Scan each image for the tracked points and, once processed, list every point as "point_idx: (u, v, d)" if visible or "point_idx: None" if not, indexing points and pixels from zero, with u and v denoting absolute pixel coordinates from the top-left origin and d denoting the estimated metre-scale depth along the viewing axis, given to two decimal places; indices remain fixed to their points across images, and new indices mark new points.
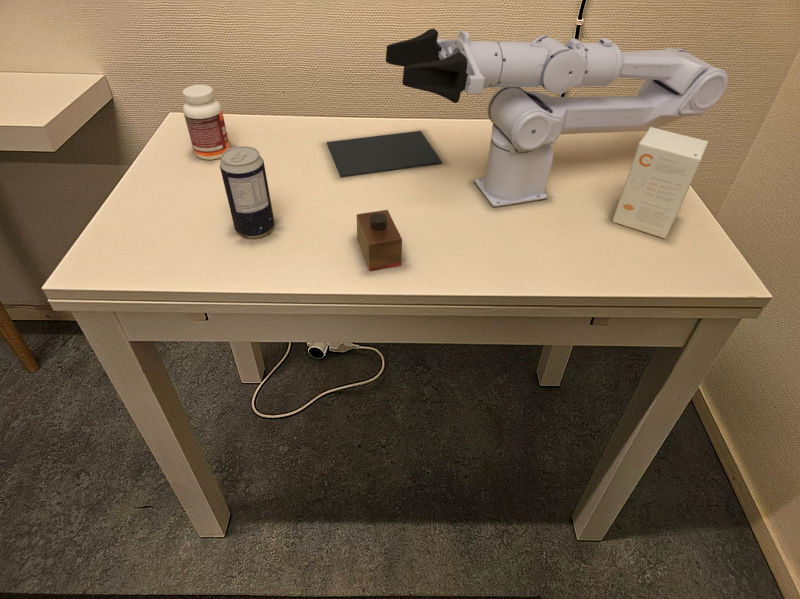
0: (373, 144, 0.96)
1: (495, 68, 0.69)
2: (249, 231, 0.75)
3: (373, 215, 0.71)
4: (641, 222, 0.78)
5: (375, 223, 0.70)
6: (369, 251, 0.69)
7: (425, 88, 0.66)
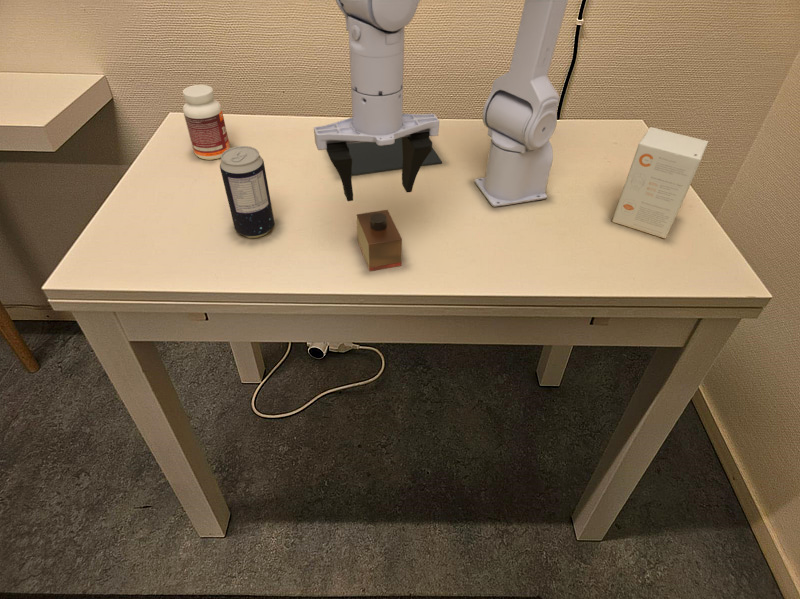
0: (373, 144, 0.96)
1: None
2: (249, 231, 0.75)
3: (373, 215, 0.71)
4: (641, 222, 0.78)
5: (375, 223, 0.70)
6: (369, 251, 0.69)
7: None
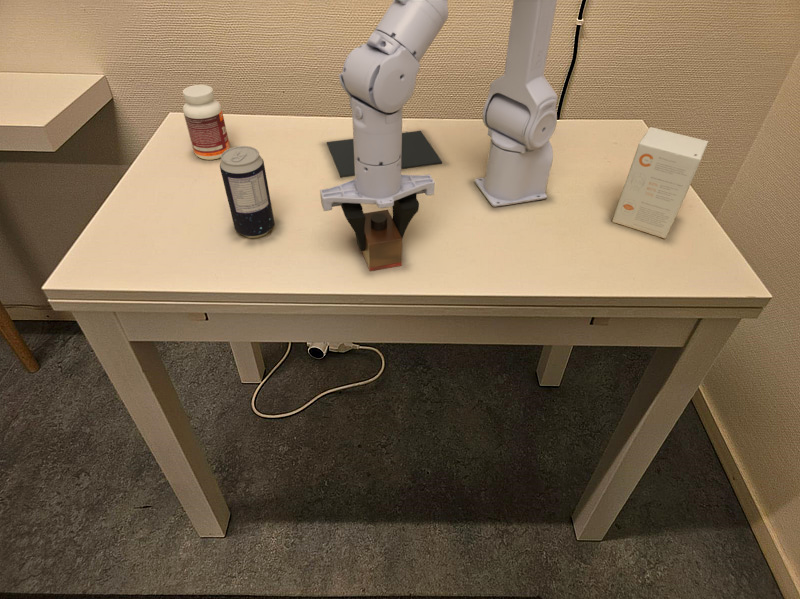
0: None
1: None
2: (249, 231, 0.75)
3: (373, 215, 0.71)
4: (641, 222, 0.78)
5: (375, 223, 0.70)
6: (369, 251, 0.69)
7: None
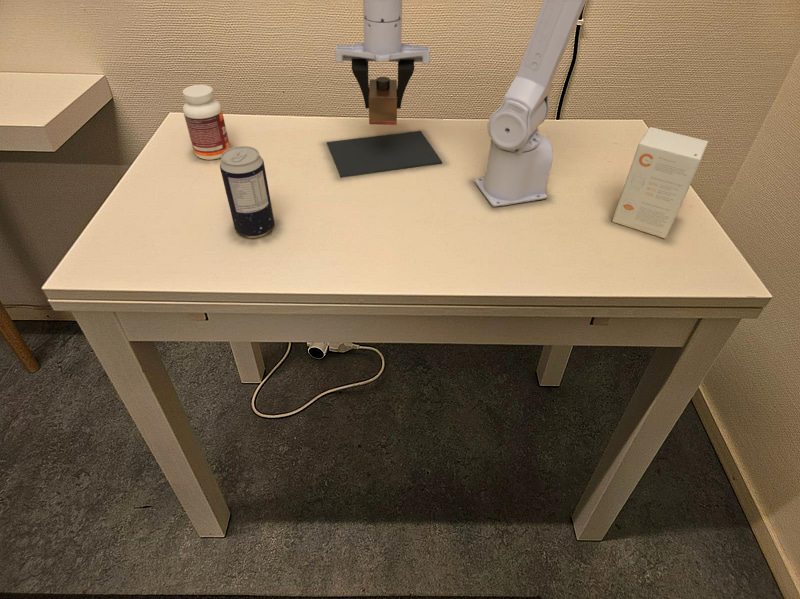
0: (373, 144, 0.96)
1: (401, 24, 0.79)
2: (249, 231, 0.75)
3: (379, 77, 0.86)
4: (641, 222, 0.78)
5: (379, 83, 0.85)
6: (369, 104, 0.84)
7: None
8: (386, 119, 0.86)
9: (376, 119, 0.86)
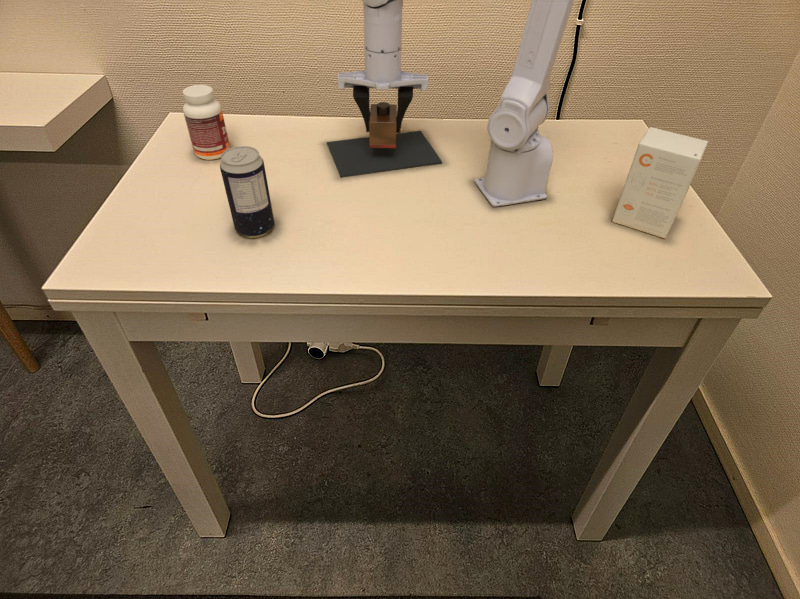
0: None
1: (400, 54, 0.82)
2: (249, 231, 0.75)
3: (380, 103, 0.89)
4: (641, 222, 0.78)
5: (379, 108, 0.88)
6: (369, 129, 0.88)
7: None
8: (386, 143, 0.90)
9: (376, 143, 0.90)
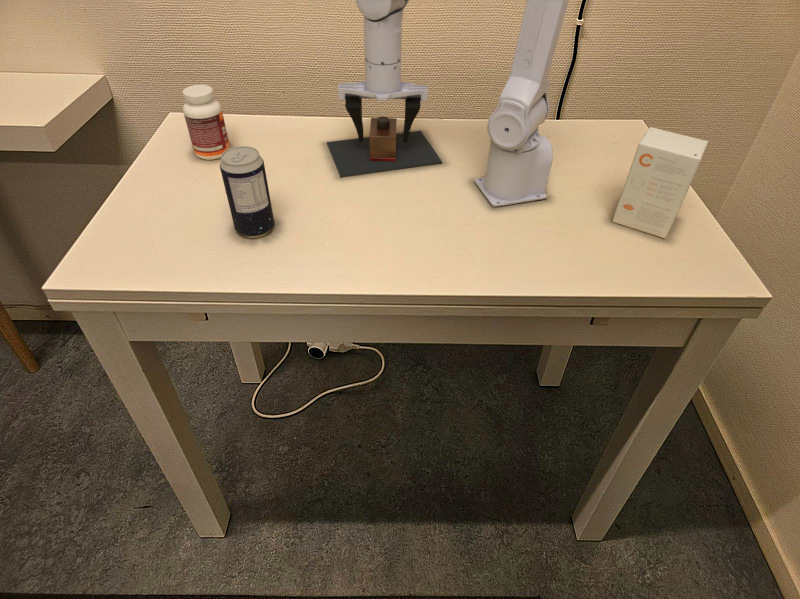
0: None
1: (400, 66, 0.84)
2: (249, 231, 0.75)
3: (380, 117, 0.91)
4: (641, 222, 0.78)
5: (379, 122, 0.90)
6: (370, 142, 0.90)
7: None
8: (386, 156, 0.91)
9: (376, 156, 0.91)
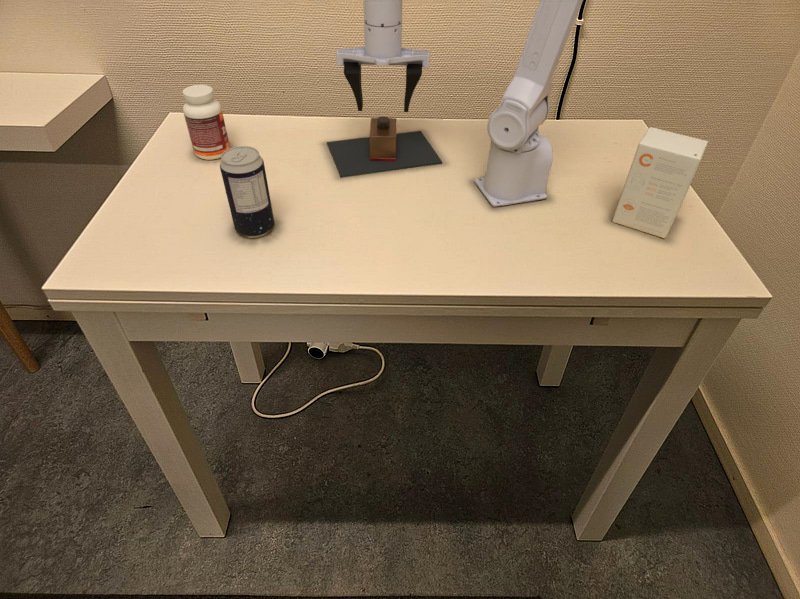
0: None
1: (401, 29, 0.80)
2: (249, 231, 0.75)
3: (380, 117, 0.91)
4: (641, 222, 0.78)
5: (379, 122, 0.90)
6: (370, 142, 0.90)
7: None
8: (386, 156, 0.91)
9: (376, 156, 0.91)
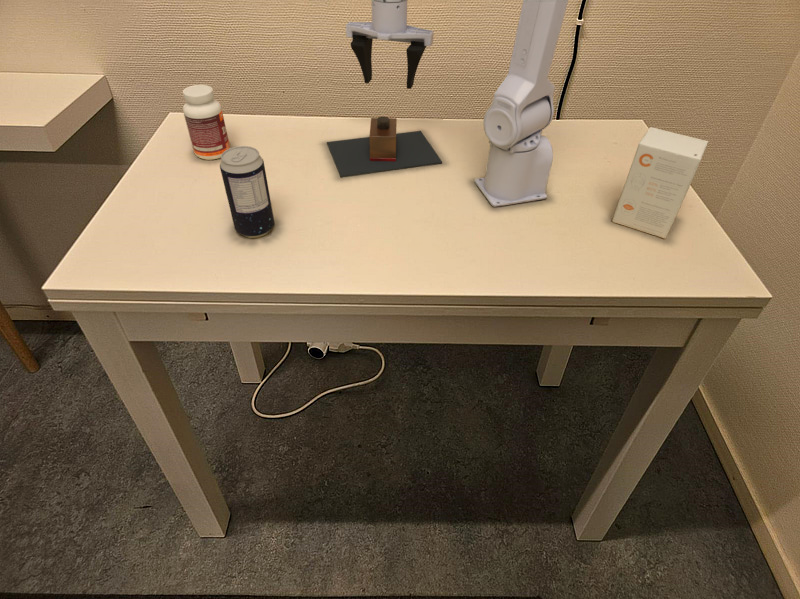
0: None
1: (405, 6, 0.84)
2: (249, 231, 0.75)
3: (380, 117, 0.91)
4: (641, 222, 0.78)
5: (379, 122, 0.90)
6: (370, 142, 0.90)
7: (416, 68, 0.92)
8: (386, 156, 0.91)
9: (376, 156, 0.91)
